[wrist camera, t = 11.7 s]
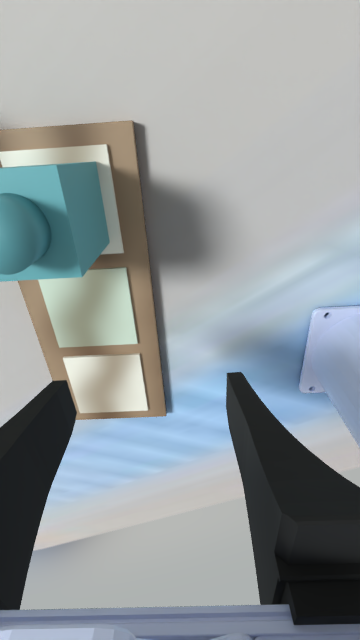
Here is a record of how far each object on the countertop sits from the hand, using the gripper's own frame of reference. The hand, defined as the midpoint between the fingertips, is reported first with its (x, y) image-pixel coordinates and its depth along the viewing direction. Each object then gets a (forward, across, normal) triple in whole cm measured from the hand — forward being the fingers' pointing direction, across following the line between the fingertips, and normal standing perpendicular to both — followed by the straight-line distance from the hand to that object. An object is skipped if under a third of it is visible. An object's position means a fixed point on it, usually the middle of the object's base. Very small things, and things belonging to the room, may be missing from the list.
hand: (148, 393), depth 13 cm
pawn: (+9, +5, -7) cm, 12 cm away
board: (+9, +5, 0) cm, 11 cm away
